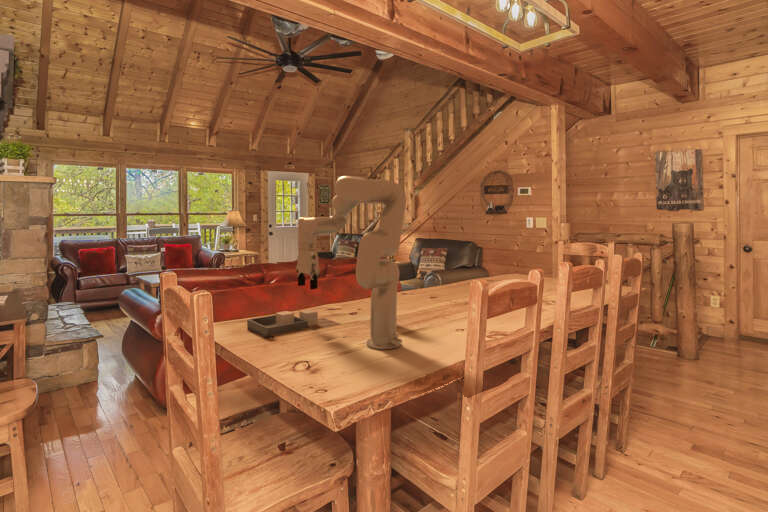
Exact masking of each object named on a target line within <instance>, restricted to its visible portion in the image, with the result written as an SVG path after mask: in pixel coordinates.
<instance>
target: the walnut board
mask: <svg viewBox="0 0 768 512" xmlns="http://www.w3.org/2000/svg"><path fill="white" fill-rule="evenodd" d="M339 325H342V323H341V322H337V321H334V320H331V319H328V318H325V317H321V318H318V324H317V325H312V326H308V328H307V329H311V330H312V331H313V330H314V331H316V330H319V329H325V328H330V327H335V326H339Z"/></svg>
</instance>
